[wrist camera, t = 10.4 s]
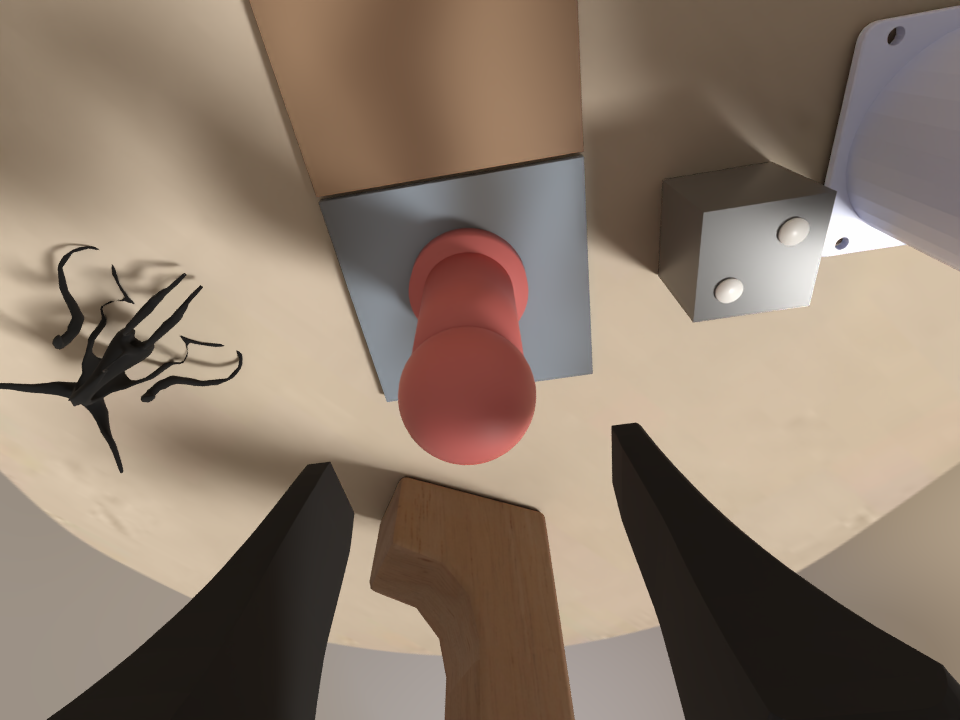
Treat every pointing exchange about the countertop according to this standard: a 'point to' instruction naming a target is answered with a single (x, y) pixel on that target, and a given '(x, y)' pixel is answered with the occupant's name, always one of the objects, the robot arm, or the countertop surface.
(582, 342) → the board
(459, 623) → the wooden block
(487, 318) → the pawn
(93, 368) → the creature
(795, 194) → the die
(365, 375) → the countertop surface
